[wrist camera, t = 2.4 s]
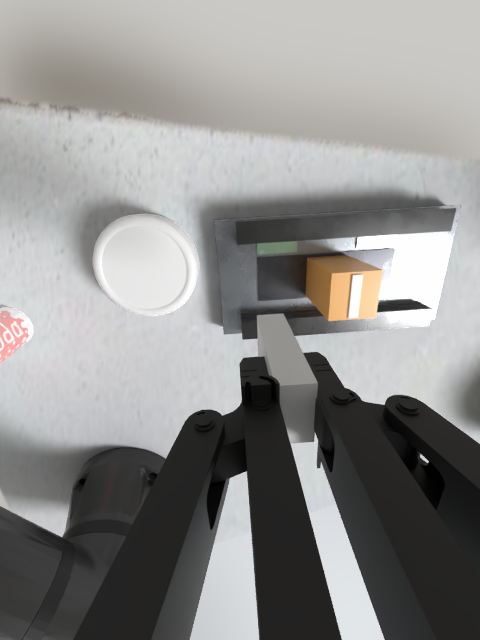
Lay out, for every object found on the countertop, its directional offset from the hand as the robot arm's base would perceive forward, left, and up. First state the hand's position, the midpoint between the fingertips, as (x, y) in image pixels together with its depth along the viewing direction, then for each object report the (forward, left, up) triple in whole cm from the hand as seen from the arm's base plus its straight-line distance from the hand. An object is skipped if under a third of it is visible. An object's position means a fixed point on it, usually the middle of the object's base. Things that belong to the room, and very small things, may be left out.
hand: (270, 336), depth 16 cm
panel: (+9, 0, -16) cm, 18 cm away
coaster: (-10, +2, -16) cm, 19 cm away
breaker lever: (+8, 0, -13) cm, 15 cm away
